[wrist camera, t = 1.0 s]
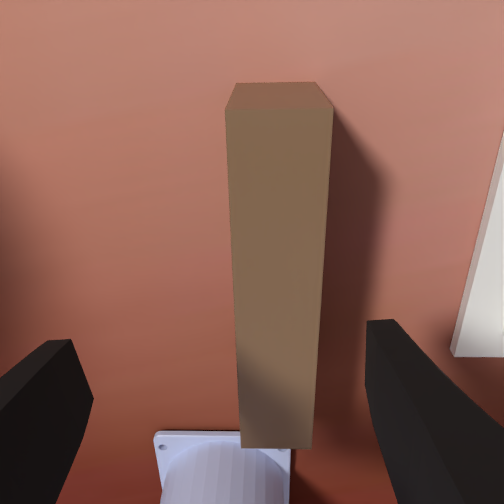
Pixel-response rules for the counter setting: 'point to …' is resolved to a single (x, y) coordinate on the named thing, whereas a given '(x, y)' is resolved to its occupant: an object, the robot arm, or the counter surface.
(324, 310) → the counter surface
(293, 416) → the frame bar
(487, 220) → the display stand
